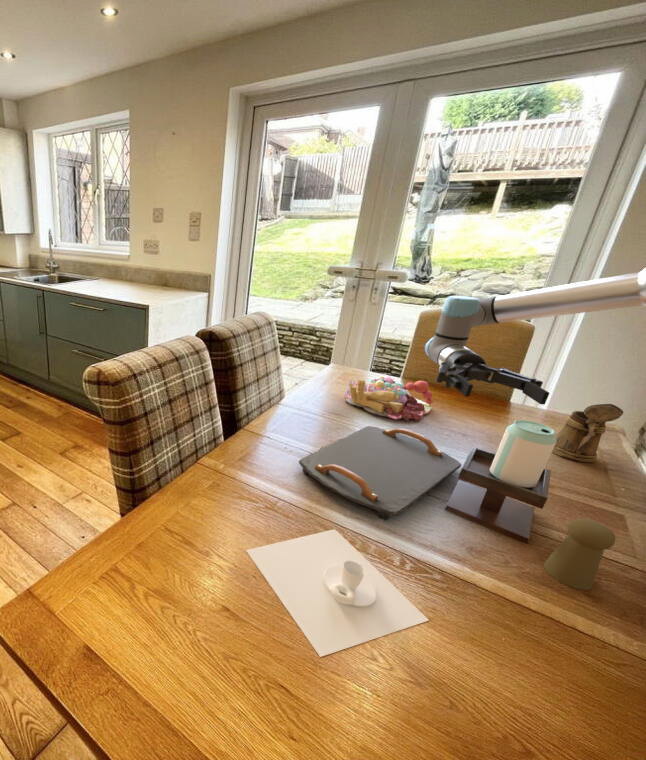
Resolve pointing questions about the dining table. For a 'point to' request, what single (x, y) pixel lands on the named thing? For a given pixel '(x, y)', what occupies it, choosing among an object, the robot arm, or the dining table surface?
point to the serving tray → (381, 468)
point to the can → (523, 453)
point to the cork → (580, 553)
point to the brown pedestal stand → (496, 497)
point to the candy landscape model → (390, 398)
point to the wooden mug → (584, 432)
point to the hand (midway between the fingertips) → (506, 394)
